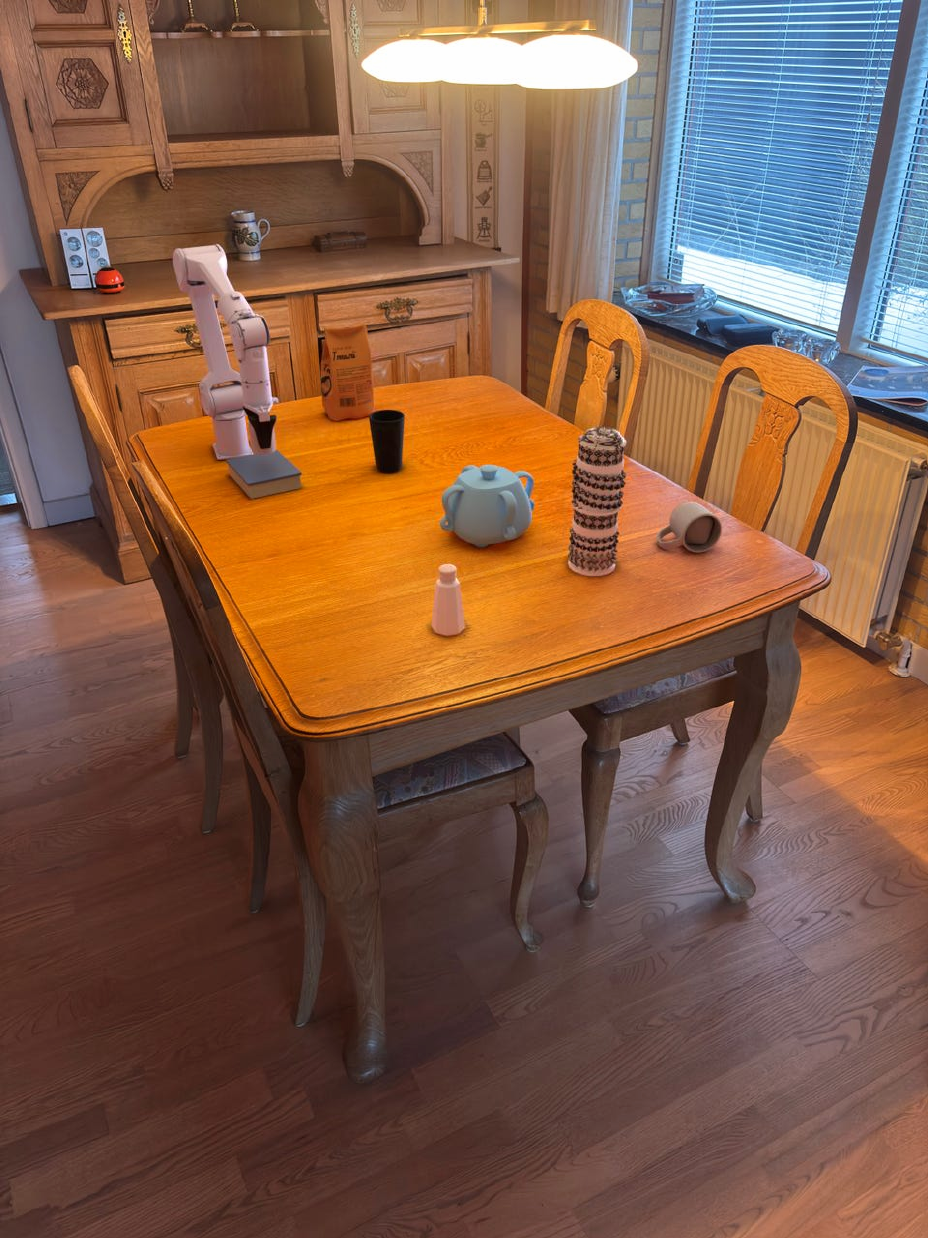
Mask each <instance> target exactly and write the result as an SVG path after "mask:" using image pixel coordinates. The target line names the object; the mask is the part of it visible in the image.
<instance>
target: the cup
mask: <svg viewBox="0 0 928 1238" xmlns="http://www.w3.org/2000/svg"><path fill="white" fill-rule="evenodd" d="M405 420H406V415H405V413H404V412H402V411H400V410H395V409H381V410H375V412H373V413H371V414H370V415H369V416H368V421H369V427H370V428H369V429H370V434H371V439H372V447H373V455H374V461H375V466H376V470H377V471H378V472H380V473H382V474H395V473H398V472H400V471H402V469H403V456H404V455H403V453H404V438H405V422H406V421H405Z"/></svg>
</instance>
